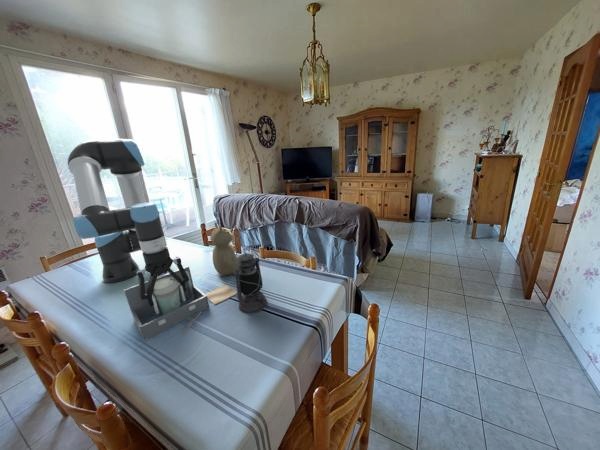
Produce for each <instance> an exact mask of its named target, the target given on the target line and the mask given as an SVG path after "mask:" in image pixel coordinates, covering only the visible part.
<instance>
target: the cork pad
mask: <svg viewBox="0 0 600 450" xmlns="http://www.w3.org/2000/svg"><path fill="white" fill-rule="evenodd" d="M204 294H205V295H206V296H207V299H208V301H210V303H212V304H213V305H214V306H217V305H218V304H221V303H222V302H224V301H227V300H228V299H230V298H232V297H234V296H236V295H238V294H237V290H234V289H233V288H232V287H230V286H229V285H227V284H224V285H221V286H219V287H217V288H215V289H213V290H211V291H209V292H206V293H204Z"/></svg>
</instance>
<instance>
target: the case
mask: <svg viewBox="0 0 600 450" xmlns="http://www.w3.org/2000/svg"><path fill="white" fill-rule="evenodd" d="M183 268H184V270H185V272H186V274H187V276H188V278H189V281H187V282H185V287H186V291H185V292H184V295H185V299H186V301H187V300H189V299H195V298H196V299H195V300H193V301H191V302H189V303H186V304H184V305H182V306H181V307H180V308H178V309H176V310H173V311H171V312H169V313H167V314H165V315H164V314H162V315H160V316H159V317H157V318H155V319H153V320H151V321H148V322H146V323H144V324H142V322H141V321H144V320H146V319H147V318H150V317H153V316H155V315H157V313H156V312H155V310H154V307H153V306H150V305H149V303H148V300H147V299H144V300H142V299H141V298H140V296H139V283H138V284H136V285H133V286H130V287H127V288H125V289H123V292H124V295H125V298H126V300H127V303H128V306H129V309H130V312H131V315H132V318H133V320H134V321H133V322H134V323H135V325H136V328H137V330H138V331H139V333H140V335H141V336H142V339H143V341H146V340H148V339H150V338H152V337H153V336H156V335H158V334H160V333H162V332H164V331H166V330H167V329H169V328H172V327H174V326H175V325H177V324H179V323H182V322H184V321H186V320H188V319H189V318H191V317H193V316H194V315H195V314H196V313H197V312H198V311H201V312H203V311H205V310H206V309H208V308H210V305H209V300H208V299H207V296H206V295H205V294H206V293H204V292H203V291H202V290H201V289H199V287H197V286H196V285H195V284H194V282H193V278H192V273H191V269H190V266H189V265H187V266H183ZM172 271H173V272H174V273H175V274H176V275H177V276H179V277H180V278H181V279H183V276H182V275H181V273H180V271H179V269H178V268H177V269H176V270H172ZM168 277H172V278H174V277H173V276H172V275H171V274H170V273H169V272H167V273H165V274H161V275H160V276H157V279H156V282H157V281H158V280H161V279H164V278H168ZM178 283H179V282H178ZM148 284H149V280H145V294H146V292H147V288H148ZM178 289H179V288H178ZM153 296H154V297H155V295H154V294H153ZM179 298H180V303H182V302H183V303H184V301H183V300H182V299H181V296H180V292H179ZM155 300H156V298H155ZM156 304H157V307H158V310H159V313H160V312H162V310H161V308H160V306H159V304H158V302H157V300H156Z"/></svg>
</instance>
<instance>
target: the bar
mask: <svg viewBox="0 0 600 450" xmlns="http://www.w3.org/2000/svg"><path fill="white" fill-rule="evenodd" d="M201 314H202V311H198V312H197V313H196V314H195V315H193V316H192V318H191V319H190V320H189V321H188V322H187V324H185V326H184V327H183V328H182V329H181V330H180V331H181V332H180V333H182V334H186V332H188V330H189V329H190V328H191V326H192V325H193V324H194V323H195V322H196V320H197V319H198V318H199V317H200V316H201Z"/></svg>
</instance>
